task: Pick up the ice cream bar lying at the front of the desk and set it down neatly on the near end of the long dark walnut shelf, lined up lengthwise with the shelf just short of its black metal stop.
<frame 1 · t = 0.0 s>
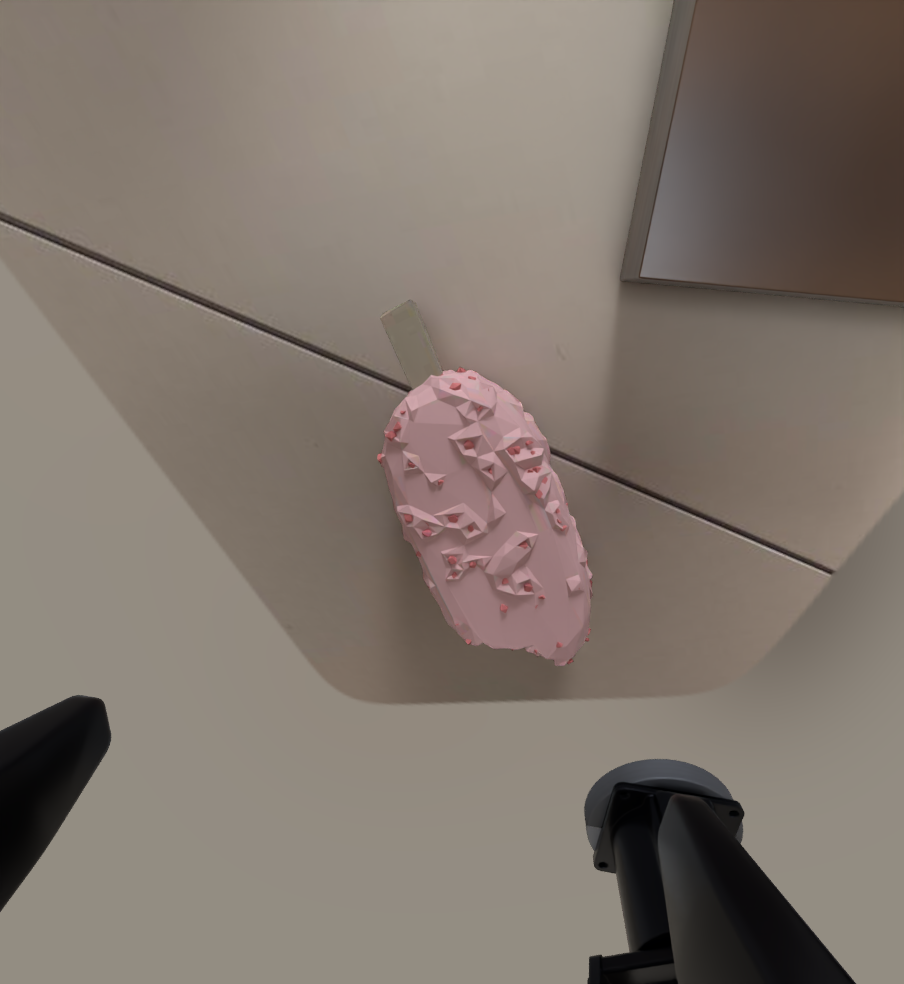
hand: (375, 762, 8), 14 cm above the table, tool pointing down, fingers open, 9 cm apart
ice cream bar: (481, 477, 21), on the table
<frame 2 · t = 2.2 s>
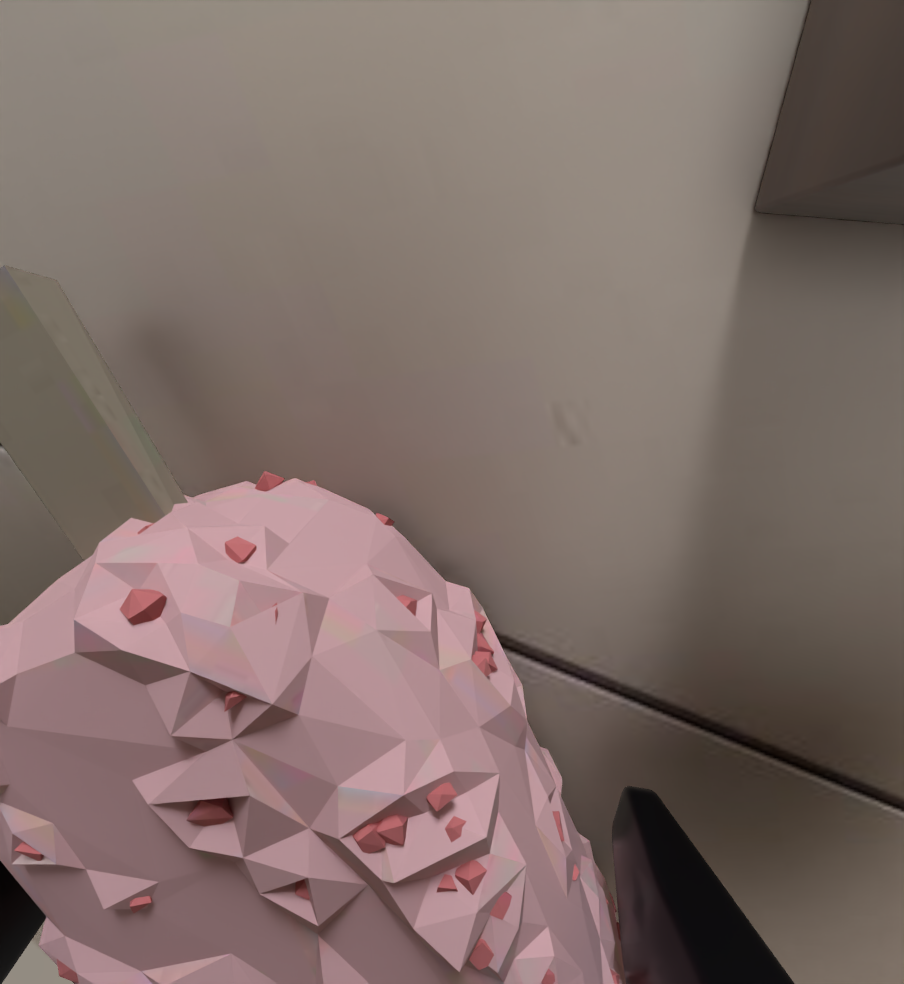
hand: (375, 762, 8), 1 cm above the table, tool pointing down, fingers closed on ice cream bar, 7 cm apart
ice cream bar: (371, 699, 9), on the table, touching gripper
when the fingers open (4 cm above the table, at t = 7.2 s): ice cream bar stays where it is, resting on shelf.
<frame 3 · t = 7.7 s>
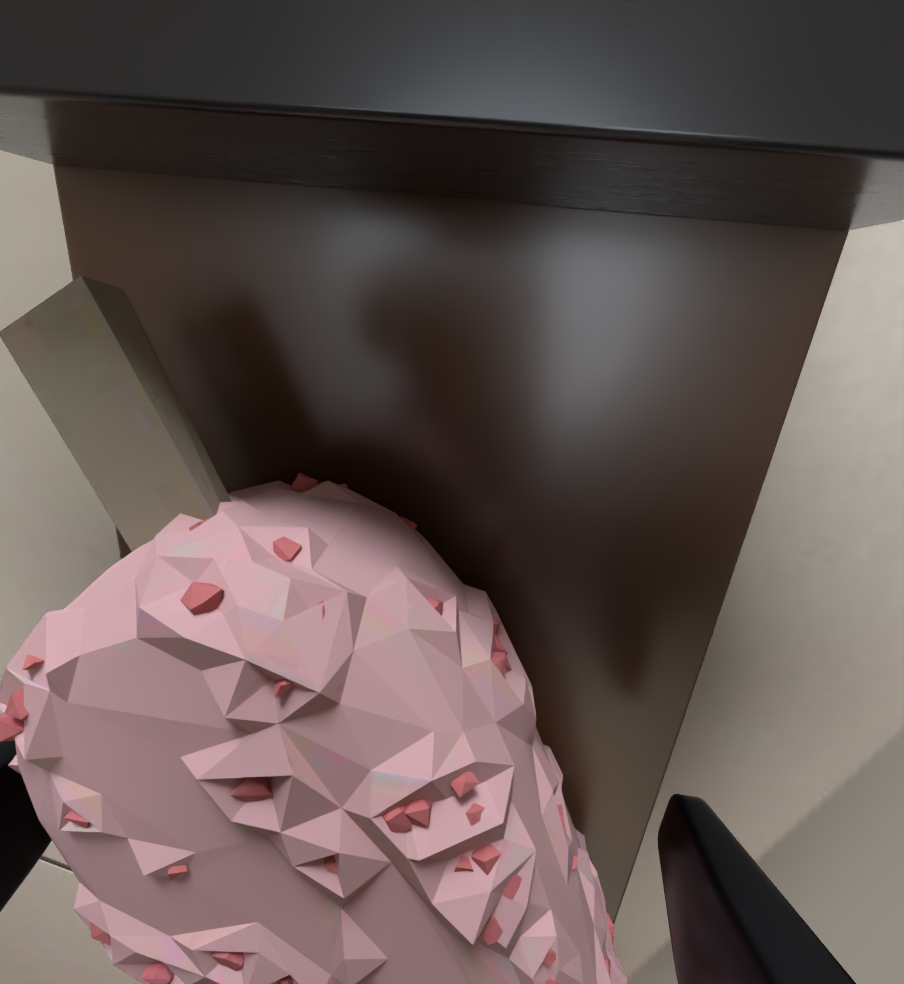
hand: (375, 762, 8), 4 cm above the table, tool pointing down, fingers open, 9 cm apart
ice cream bar: (381, 692, 10), point 3 cm above the table, touching shelf
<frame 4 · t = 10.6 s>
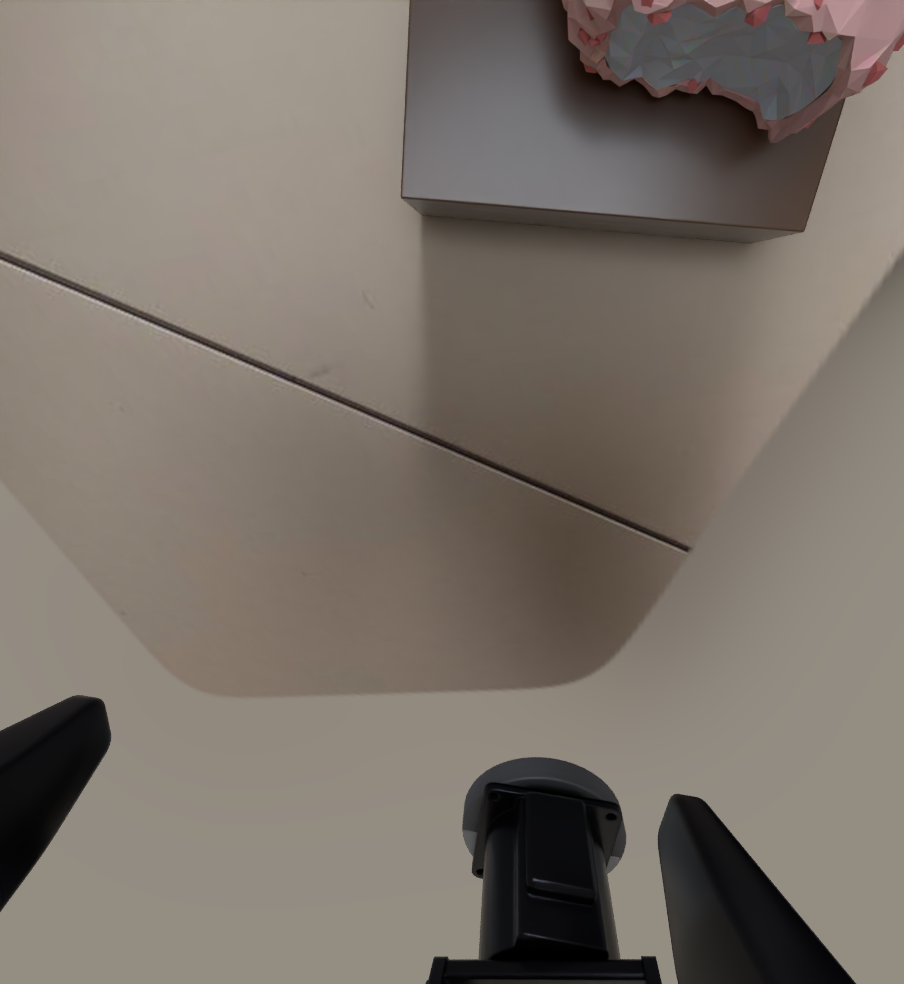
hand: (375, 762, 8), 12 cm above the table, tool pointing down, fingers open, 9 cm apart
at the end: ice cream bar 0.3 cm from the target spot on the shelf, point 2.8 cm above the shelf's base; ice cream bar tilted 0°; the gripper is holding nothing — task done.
